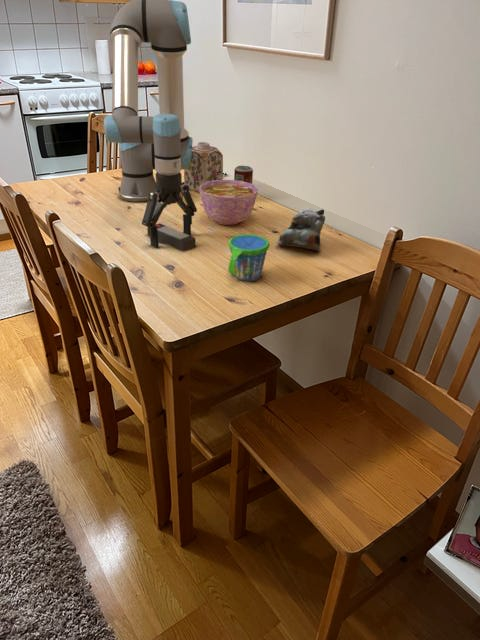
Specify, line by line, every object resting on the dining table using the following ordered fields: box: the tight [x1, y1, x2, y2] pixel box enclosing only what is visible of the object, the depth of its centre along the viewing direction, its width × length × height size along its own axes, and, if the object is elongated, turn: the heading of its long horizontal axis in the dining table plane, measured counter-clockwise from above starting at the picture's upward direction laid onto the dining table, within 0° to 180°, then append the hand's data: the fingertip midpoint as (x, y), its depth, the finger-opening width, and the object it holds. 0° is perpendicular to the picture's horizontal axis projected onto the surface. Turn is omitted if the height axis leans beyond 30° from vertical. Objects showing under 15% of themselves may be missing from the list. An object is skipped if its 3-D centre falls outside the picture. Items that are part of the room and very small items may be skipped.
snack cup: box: [227, 234, 270, 282], centre depth 131 cm, size 16×10×10 cm
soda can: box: [233, 165, 254, 184], centre depth 188 cm, size 7×7×12 cm
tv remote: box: [146, 222, 197, 252], centre depth 152 cm, size 17×5×3 cm, turn 48°
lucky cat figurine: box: [275, 208, 326, 252], centre depth 150 cm, size 15×12×14 cm
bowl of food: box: [199, 179, 259, 226], centre depth 167 cm, size 20×20×12 cm
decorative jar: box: [183, 141, 224, 193], centre depth 196 cm, size 12×12×18 cm
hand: (171, 240), depth 153 cm, fingers open, 13 cm apart
